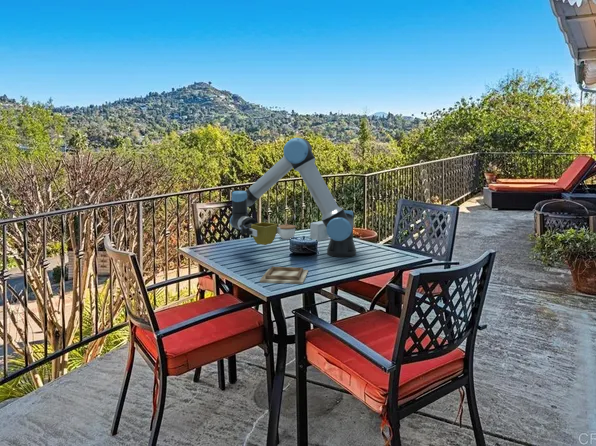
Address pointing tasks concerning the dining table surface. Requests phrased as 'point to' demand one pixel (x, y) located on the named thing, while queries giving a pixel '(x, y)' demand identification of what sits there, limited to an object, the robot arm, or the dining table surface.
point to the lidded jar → (287, 231)
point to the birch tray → (284, 275)
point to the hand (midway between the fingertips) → (268, 232)
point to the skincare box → (318, 231)
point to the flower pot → (264, 232)
